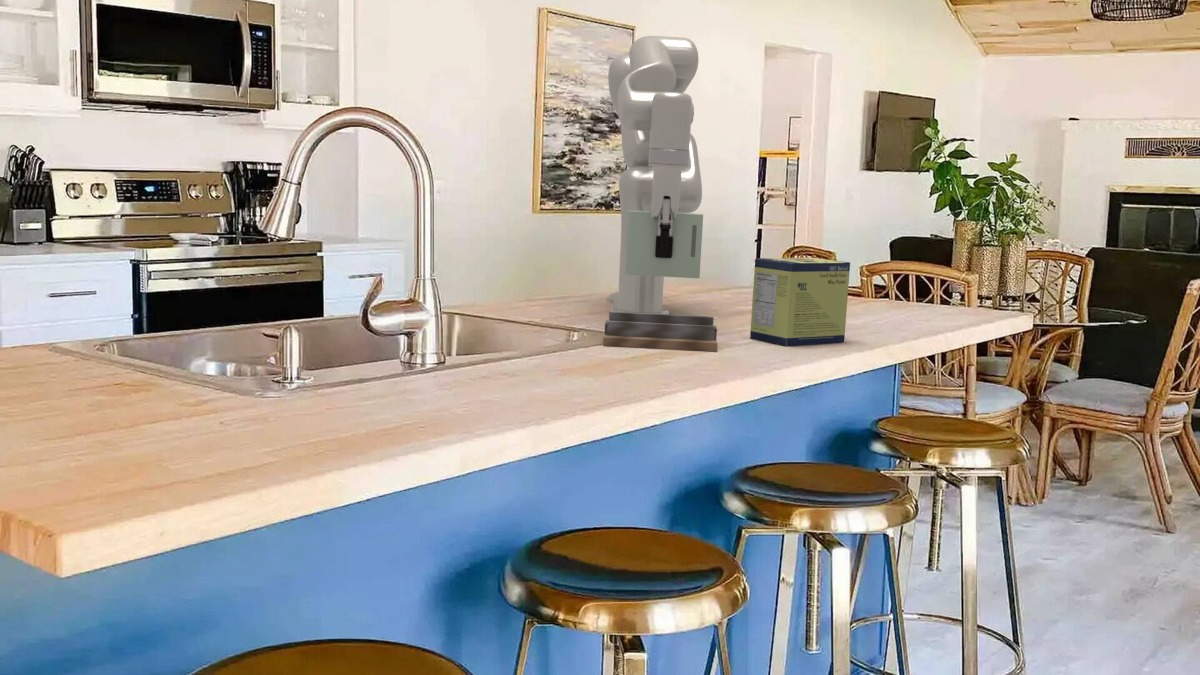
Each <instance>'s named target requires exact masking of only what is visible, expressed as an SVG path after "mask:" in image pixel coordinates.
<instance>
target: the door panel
mask: <svg viewBox="0 0 1200 675" xmlns="http://www.w3.org/2000/svg"><path fill="white" fill-rule="evenodd" d="M673 216H674V213H673ZM658 217H659V214H658V216H657V217H655V216H654V220H653V219H652V218H651V211H632V210H629V219H628V239H627V259H626V275H643V276H662V277H664V278H680V279H681V278H682V279H683V278H685V279H700V278H701V276H700V274H701V261H702V260H701V259H702V242H703V226H704V225H703V224H704V214H703V213H694V212H691V213H677V218H676V219H675V220H674V221H673V226H672V237H673V249H672V258H656V257H655V248H656V236H658ZM673 218H674V217H673ZM662 219H663V216H661V215H660V220H662ZM669 220H671V217H669ZM669 231H670V229H669ZM660 233H661V230H660ZM660 235H661V234H660Z"/></svg>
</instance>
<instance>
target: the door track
mask: <svg viewBox="0 0 1200 675" xmlns="http://www.w3.org/2000/svg"><path fill="white" fill-rule="evenodd" d="M714 318H715V317H714V316H703V315H685V314H669V315H667V314H646V313H626V312H610V311H609V312H608V320H606V321H605V323H604V335H603V342H602V345H603V347H617V348H618V347H619V348H637V349H639V348H640V349H641V348H642V349H654V350H655V349H659V350H678V351H679V350H681V351H695V352H697V351H699V352H714V353H715V352H716V353H717V351H718V342H717V337H718V336H717V332H718V328H717V325H714Z"/></svg>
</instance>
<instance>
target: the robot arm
mask: <svg viewBox="0 0 1200 675" xmlns="http://www.w3.org/2000/svg"><path fill="white" fill-rule="evenodd" d="M698 68H699V52H698V48H697V45H696V44H695V43H694V41H692V40H691V39H690V38H687V37H680V36H679V37H676V36H663V35H662V36H661V35H646V36H642V37H639V38H637V39H636V40H635V41H634V42H633V43H632V44H631V46H630V48H629V52H628V54H623V55H618V56H617V57H615V58H614V59H613V60H612V61H611V63H610V64H609V68H608V75H607V79H608V80H607V82H608V91H609V97H610V99H611V103H612V105H613V108H614V111H616V114H617V117H618V121H619V124H620V133H621V147H622V155H623V160H624V163H625V165H626V167H627V169H625V170H624V171H623V172H622V173H621V175H620V177H619V181H618V192H619V193H618V194H619V203H620V205H619V206H620V216H621V217H620V220H621V222H620V223H621V224H620V247H619V248H620V251H619V272H618V291H617V292H611V293H610V295H607V296H606V298H605V299H606V302H608V303H614V304H613V307H611V308H610V311H609V312H626V313H646V314H667V315H670V311H669V310H667V309H663V300H664V299H663V298H664V282H665V281H664V278H665V277H662V276H643V275H626V259H627V239H628V219H629V210H632V211H651V218H652V219H653V220H654V216H655V217H657V216H658V214H659V217H658V236H656V248H655V257H656V258H672V249H673V237H672V226H673V221H674V220H675V219H676V218H677V213H694V212H696V211H697V210H698V209H699V207H700V206H701V203H702V200H703V185H702V177H701V167H700V160H699V153H698V146H697V142H696V139H695V137H694V136H693V134H692V133H691V130H692V128H691V126H692V124H693V122H694V116H695V106H694V103H693V99H692V97H691V95H689V94H688V93H686V92H685V91H686V90H688V87H689V85H690V84H691V82H692V80H694V77H695V76H696V73H697V71H698ZM673 213H674V216H673ZM660 215H661V216H663V219H662V220H660ZM669 217H671V220H669ZM673 217H674V218H673ZM669 229H670V231H669ZM660 230H661V233H660ZM660 234H661V235H660Z"/></svg>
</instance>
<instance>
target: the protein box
mask: <svg viewBox="0 0 1200 675" xmlns="http://www.w3.org/2000/svg"><path fill="white" fill-rule="evenodd" d="M850 268H851V262H848V261H840V260H834V259H826V258H818V257H808V256H807V257H767V258H766V257H758V258H756V257H755V259H754V269H753V270H754V271H753V285H752V286H753V287H752V302H751V305H752V306H751V318H750V320H751V322H750V333H749V334H750V335H749V339H751V340H755V339H756V341H759V342H765V343H771V344H774V345H775V344H776V345H781V346H785V347H792V346H793V347H795V346H809V345H810V346H811V345H825V344H840V343H841V344H843V343H845V336H846V324H847V323H846V322H847V309H848V295H849V294H848V293H849V284H850V271H851V270H850Z"/></svg>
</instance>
